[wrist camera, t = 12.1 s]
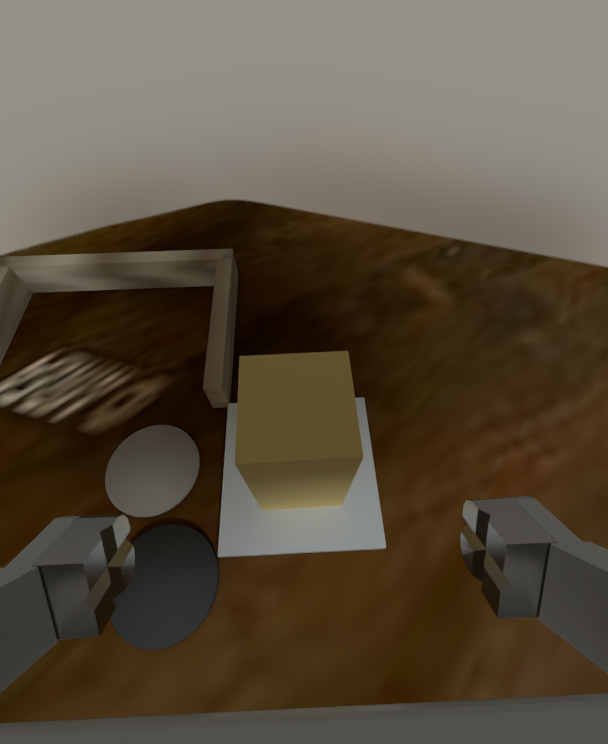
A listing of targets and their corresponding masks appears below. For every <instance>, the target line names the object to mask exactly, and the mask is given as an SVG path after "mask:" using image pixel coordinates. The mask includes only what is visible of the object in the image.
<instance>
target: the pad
mask: <svg viewBox="0 0 608 744" xmlns="http://www.w3.org/2000/svg"><path fill="white" fill-rule="evenodd" d="M355 401H356V408H357V415H358V422H359V429H360V436H361V443H362V450H363V459H362V462H361V464H360V466H359V468H358V471H357V473H356V475H355V477H354V479H353V482H352V484H351V486H350V488H349V491H348V493H347V495H346V497H345V499H344V502H343V504H342V506H329V507H312V508H296V509H279V510H262V509H261V508H260V506H259V504H258V503H257V501H256V499H255V498H254V496H253V494H252V493H251V491H250V489H249V487H248V486H247V484H246V482H245V481H244V479H243V477H242V476H241V474H240V472H239V471H238V469H237V467H236V466H235V448H236V425H237V403H228V413H227V428H226V442H225V457H224V472H223V486H222V501H221V515H220V530H219V544H218V557H238V556H257V555H276V554H295V553H315V552H334V551H353V550H372V549H385V548H386V543H385V536H384V529H383V522H382V516H381V509H380V502H379V495H378V488H377V482H376V475H375V468H374V461H373V454H372V448H371V441H370V434H369V427H368V421H367V414H366V407H365V400H364V398H355Z"/></svg>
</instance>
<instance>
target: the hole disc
mask: <svg viewBox="0 0 608 744" xmlns="http://www.w3.org/2000/svg"><path fill="white" fill-rule="evenodd" d="M131 544H132V545H133V546H134V552H135V567H134V570H133V574H132V578H131V581H130V582H129V584H128V586H127V588H126V590H125V591H124V592H122V593H121V594H120V595H119V596H117V597H116V598H115V599H114V601H115V606H116V608H115V610H114V612H113V614H112V615H111V617H110V618H111V621H112V623H113V625H114V627H115V629H116V631H117V632H118V633H119V635H120V636H121V637H122V638H123V639H124V640H125V641H127V642H128V643H130V644H131V645H133V646H136V647H138V648H142V649H150V650H154V649H162V648H166V647H169V646H171V645H174V644H176V643H178V642H180V641H182V640H183V639H185V638H186V637H188V636H189V635H190V634H191V633H193V632H194V631H195V630H196V629H197V628H198V627H199V625H200V624H201V623H202V622H203V620H204V619H205V617H206V616H207V614H208V613H209V611H210V609H211V607H212V604H213V602H214V599H215V596H216V592H217V588H218V581H219V570H218V562H217V558H216V555H215V552H214V550H213V548H212V546H211V545H210V543H209V542H208V540H207V539H206V538H205V537H204V536H203V535H202V534H200V533H199V532H198V531H196V530H194V529H192V528H190V527H187V526H184V525H178V524H169V525H163V526H159V527H156V528H153V529H151V530H149V531H147V532H145V533H144V534H142V535H141V536H139V537H138V538H137V539H136V540H134V541H133V542H132V543H131Z"/></svg>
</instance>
